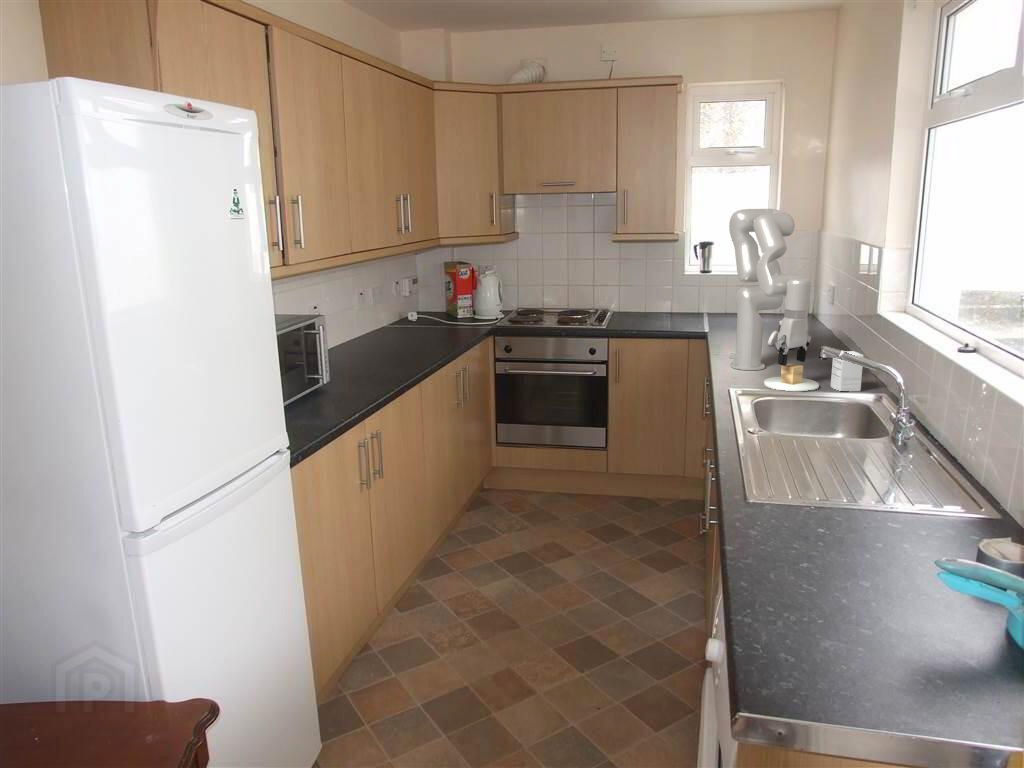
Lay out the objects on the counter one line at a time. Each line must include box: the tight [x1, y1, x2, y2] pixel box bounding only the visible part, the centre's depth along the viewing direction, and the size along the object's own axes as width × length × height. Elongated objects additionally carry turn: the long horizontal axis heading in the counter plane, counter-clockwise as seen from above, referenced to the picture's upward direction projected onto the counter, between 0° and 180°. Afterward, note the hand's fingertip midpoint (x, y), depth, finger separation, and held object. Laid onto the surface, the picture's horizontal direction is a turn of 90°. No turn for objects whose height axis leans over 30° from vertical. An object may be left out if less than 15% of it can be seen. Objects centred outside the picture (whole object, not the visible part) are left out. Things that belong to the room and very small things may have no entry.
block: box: [780, 363, 804, 385], centre depth 266 cm, size 5×5×6 cm
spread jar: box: [767, 319, 795, 350], centre depth 333 cm, size 12×11×12 cm
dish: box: [763, 376, 820, 392], centre depth 267 cm, size 18×18×1 cm
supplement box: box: [830, 350, 864, 392], centre depth 260 cm, size 7×7×13 cm
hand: (791, 363), depth 266 cm, fingers open, 9 cm apart
